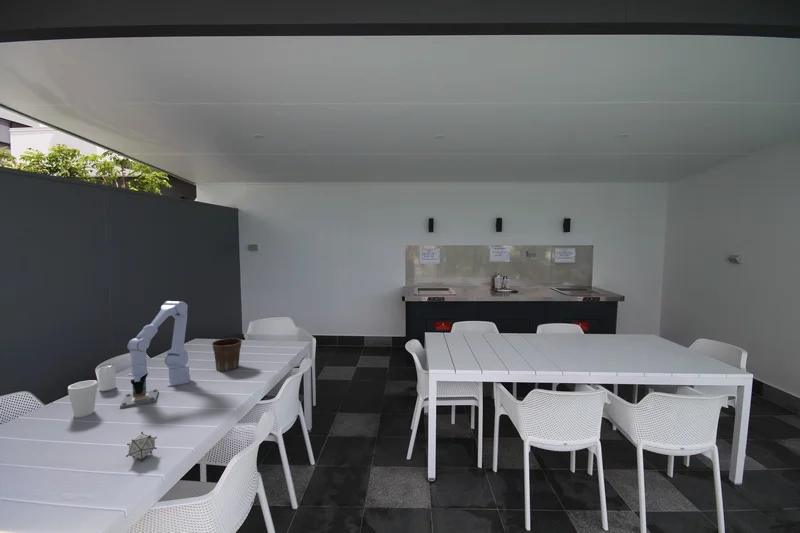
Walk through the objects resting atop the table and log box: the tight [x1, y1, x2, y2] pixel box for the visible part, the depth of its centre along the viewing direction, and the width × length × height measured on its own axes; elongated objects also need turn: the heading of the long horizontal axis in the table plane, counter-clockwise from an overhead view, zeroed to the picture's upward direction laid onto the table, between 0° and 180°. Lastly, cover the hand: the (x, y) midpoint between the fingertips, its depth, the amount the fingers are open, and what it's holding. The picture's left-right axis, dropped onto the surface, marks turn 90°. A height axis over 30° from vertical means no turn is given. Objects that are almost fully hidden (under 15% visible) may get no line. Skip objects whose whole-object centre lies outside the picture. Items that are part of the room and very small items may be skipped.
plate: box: [119, 388, 159, 409], centre depth 160 cm, size 13×13×2 cm
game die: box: [125, 431, 158, 463], centre depth 116 cm, size 9×8×10 cm
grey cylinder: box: [98, 363, 117, 392], centre depth 172 cm, size 6×6×12 cm
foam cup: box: [67, 379, 99, 418], centre depth 146 cm, size 10×9×13 cm
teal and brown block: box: [132, 379, 147, 398], centre depth 160 cm, size 4×4×6 cm
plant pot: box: [211, 337, 243, 372], centre depth 203 cm, size 16×16×16 cm
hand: (140, 391), depth 160 cm, fingers closed on teal and brown block, 4 cm apart
